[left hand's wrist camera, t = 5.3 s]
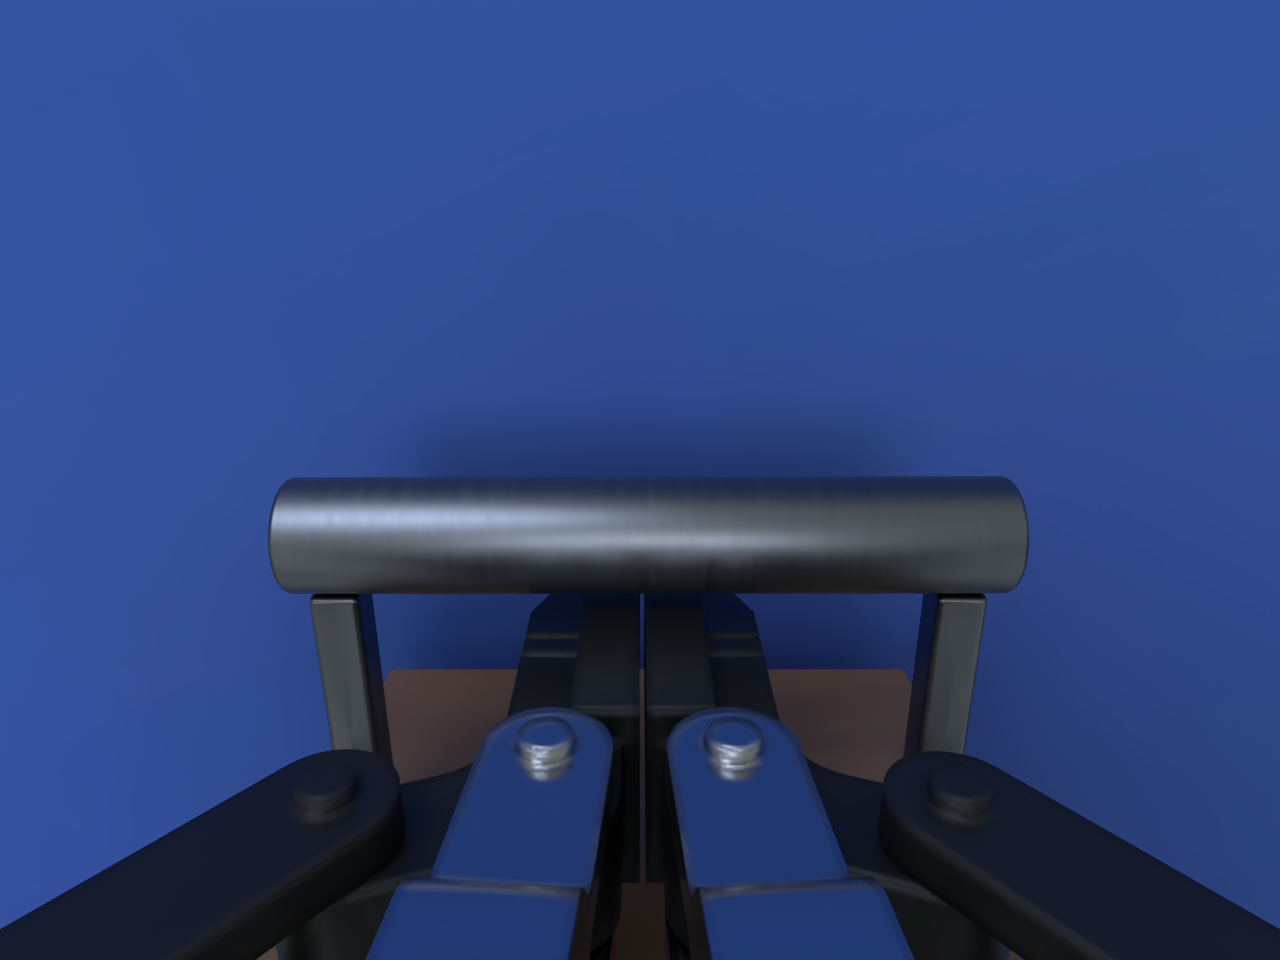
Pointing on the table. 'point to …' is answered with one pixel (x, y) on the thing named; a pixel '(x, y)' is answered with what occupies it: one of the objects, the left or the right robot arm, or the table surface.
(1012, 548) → the drawer
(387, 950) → the left robot arm
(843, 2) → the table surface
